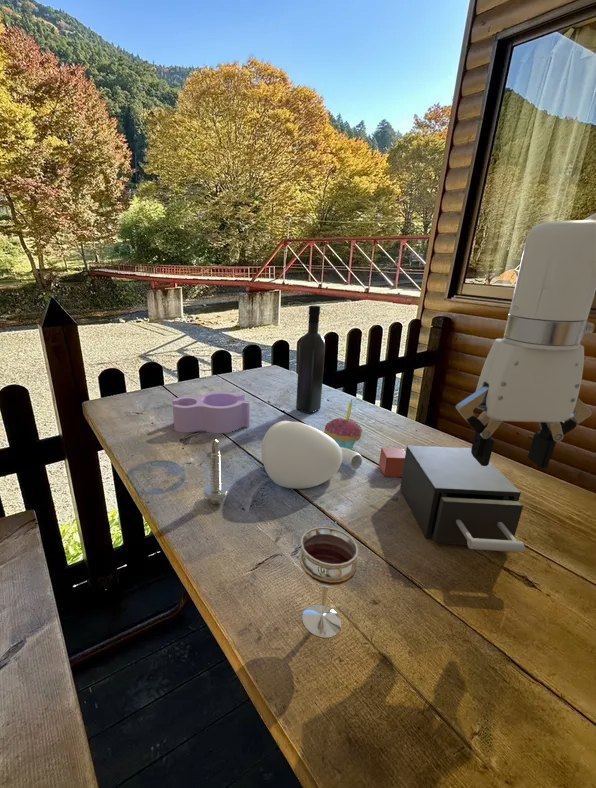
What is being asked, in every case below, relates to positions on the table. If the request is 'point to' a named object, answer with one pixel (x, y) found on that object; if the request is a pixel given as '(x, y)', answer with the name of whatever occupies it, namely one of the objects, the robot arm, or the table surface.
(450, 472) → the cabinet
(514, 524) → the drawer
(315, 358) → the wine bottle
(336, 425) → the cupcake
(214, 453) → the screw
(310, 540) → the wineglass
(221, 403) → the clip
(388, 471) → the block
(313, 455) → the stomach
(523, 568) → the table surface
